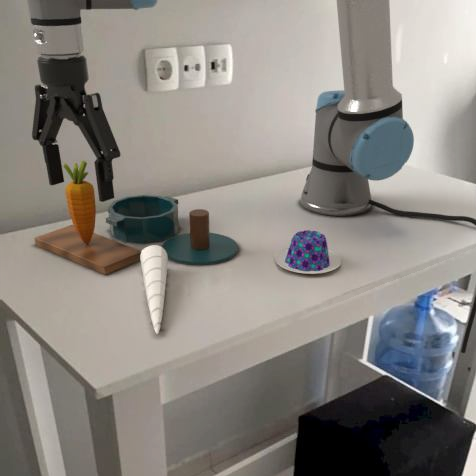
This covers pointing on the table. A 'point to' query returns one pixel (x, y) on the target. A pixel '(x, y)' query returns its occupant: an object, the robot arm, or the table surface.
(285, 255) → the pudding
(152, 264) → the unicorn horn
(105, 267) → the board
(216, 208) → the table surface
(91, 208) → the carrot
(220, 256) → the lid
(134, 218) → the pot
